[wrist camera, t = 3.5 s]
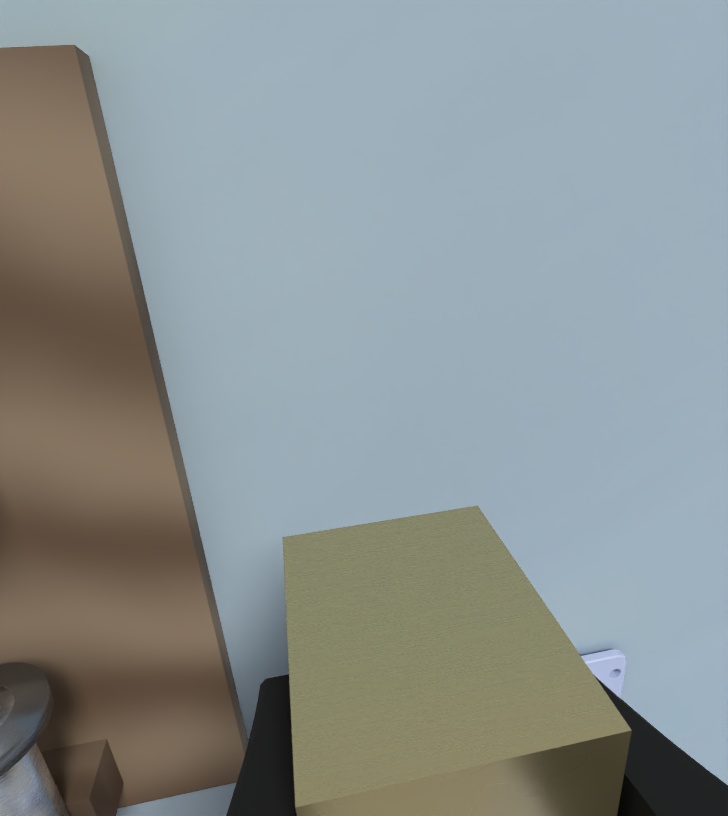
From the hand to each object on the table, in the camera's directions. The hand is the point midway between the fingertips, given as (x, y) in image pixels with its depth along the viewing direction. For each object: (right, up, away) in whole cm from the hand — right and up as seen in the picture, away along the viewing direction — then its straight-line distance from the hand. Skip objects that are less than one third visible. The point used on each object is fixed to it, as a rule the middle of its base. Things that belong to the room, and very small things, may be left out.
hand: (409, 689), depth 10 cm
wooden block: (0, +1, +2) cm, 2 cm away
